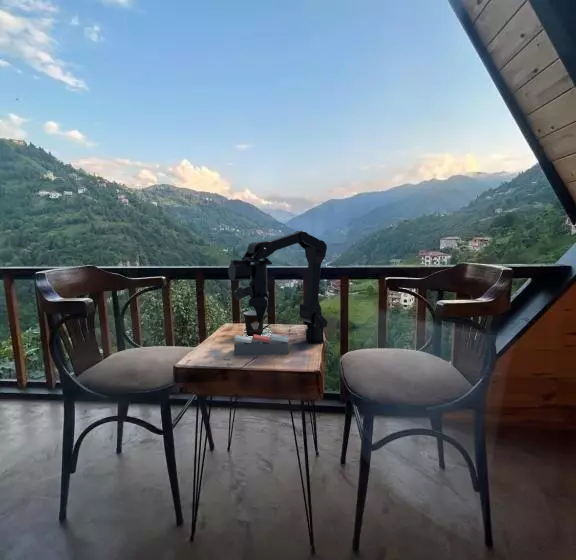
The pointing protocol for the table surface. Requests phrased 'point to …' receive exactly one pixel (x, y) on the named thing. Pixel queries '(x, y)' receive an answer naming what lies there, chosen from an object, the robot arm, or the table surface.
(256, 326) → the coffee mug
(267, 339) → the red block
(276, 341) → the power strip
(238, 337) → the white rectangular block
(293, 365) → the table surface
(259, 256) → the robot arm
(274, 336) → the block
